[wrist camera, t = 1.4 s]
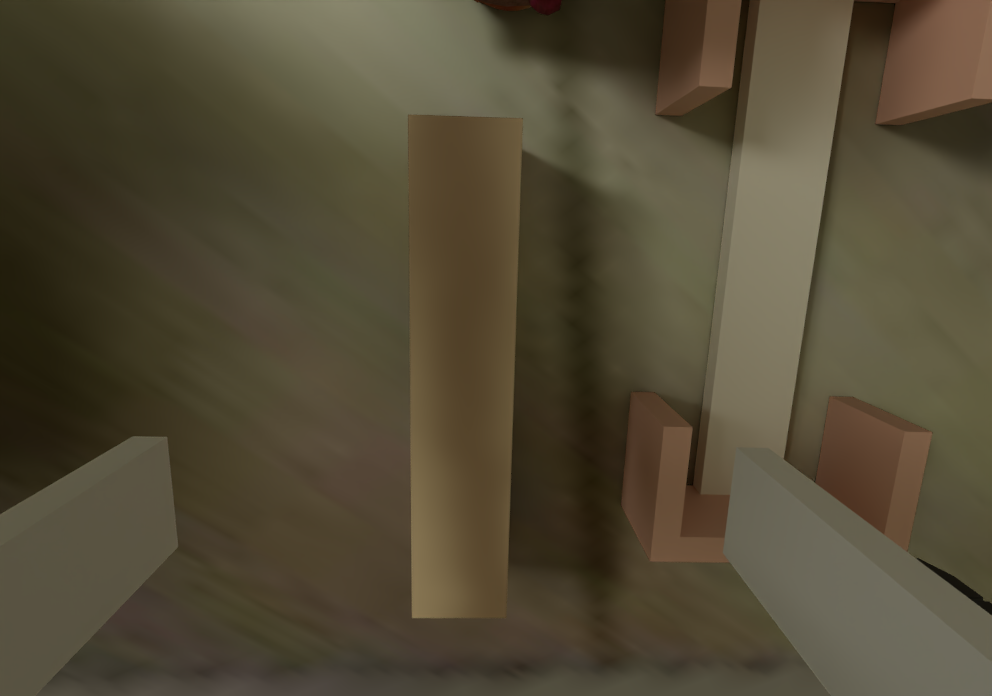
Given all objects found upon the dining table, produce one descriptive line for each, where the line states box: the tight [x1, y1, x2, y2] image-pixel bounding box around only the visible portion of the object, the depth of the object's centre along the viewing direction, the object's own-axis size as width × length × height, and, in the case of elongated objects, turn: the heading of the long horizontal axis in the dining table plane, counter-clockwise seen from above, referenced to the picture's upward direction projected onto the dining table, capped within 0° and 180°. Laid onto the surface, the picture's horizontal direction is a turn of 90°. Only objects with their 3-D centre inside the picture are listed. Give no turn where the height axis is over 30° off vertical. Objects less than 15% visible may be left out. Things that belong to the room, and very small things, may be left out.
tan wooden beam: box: [408, 115, 523, 618], centre depth 24 cm, size 4×20×6 cm, turn 178°
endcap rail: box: [621, 0, 992, 563], centre depth 24 cm, size 11×25×5 cm, turn 178°
